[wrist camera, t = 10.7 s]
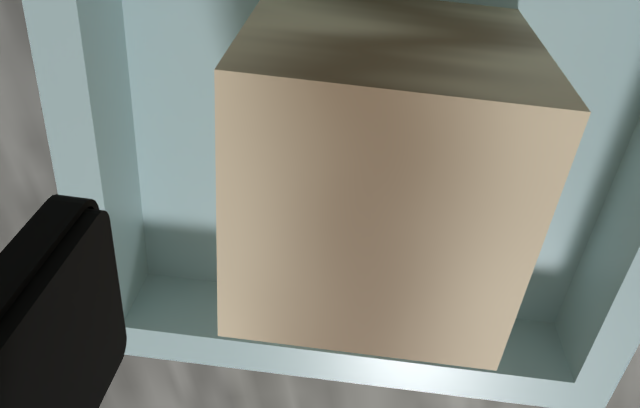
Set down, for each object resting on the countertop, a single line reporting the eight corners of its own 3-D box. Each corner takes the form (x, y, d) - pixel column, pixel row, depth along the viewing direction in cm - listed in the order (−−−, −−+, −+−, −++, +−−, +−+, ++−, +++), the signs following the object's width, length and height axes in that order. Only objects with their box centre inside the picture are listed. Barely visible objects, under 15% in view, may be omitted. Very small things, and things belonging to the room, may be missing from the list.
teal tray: (813, -220, 12) (946, -230, 9) (571, 331, 21) (601, 414, 18) (56, -293, 13) (-40, -324, 10) (126, 277, 22) (87, 349, 19)
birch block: (518, 9, 14) (590, 112, 9) (464, 213, 18) (496, 370, 13) (271, -18, 15) (214, 69, 10) (263, 189, 18) (217, 335, 13)
